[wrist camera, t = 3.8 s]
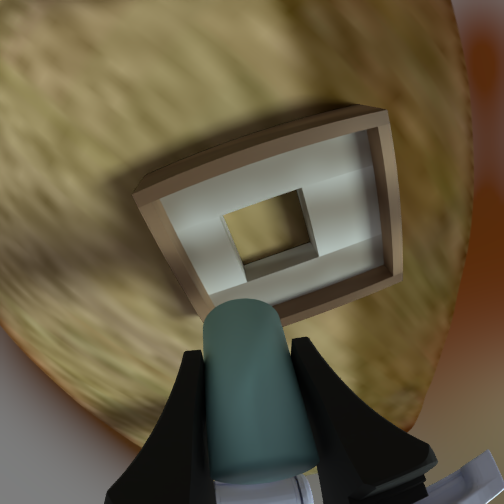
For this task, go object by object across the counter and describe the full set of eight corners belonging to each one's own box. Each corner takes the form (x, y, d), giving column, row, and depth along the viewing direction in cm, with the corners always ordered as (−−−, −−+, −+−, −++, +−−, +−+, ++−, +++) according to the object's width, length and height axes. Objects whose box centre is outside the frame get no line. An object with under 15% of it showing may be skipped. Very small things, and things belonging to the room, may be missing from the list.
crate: (381, 255, 23) (402, 280, 20) (216, 314, 23) (218, 346, 20) (358, 104, 16) (387, 109, 13) (145, 175, 17) (131, 194, 14)
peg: (284, 296, 13) (333, 445, 7) (275, 349, 15) (306, 476, 9) (201, 299, 12) (206, 461, 7) (204, 353, 14) (212, 486, 8)
